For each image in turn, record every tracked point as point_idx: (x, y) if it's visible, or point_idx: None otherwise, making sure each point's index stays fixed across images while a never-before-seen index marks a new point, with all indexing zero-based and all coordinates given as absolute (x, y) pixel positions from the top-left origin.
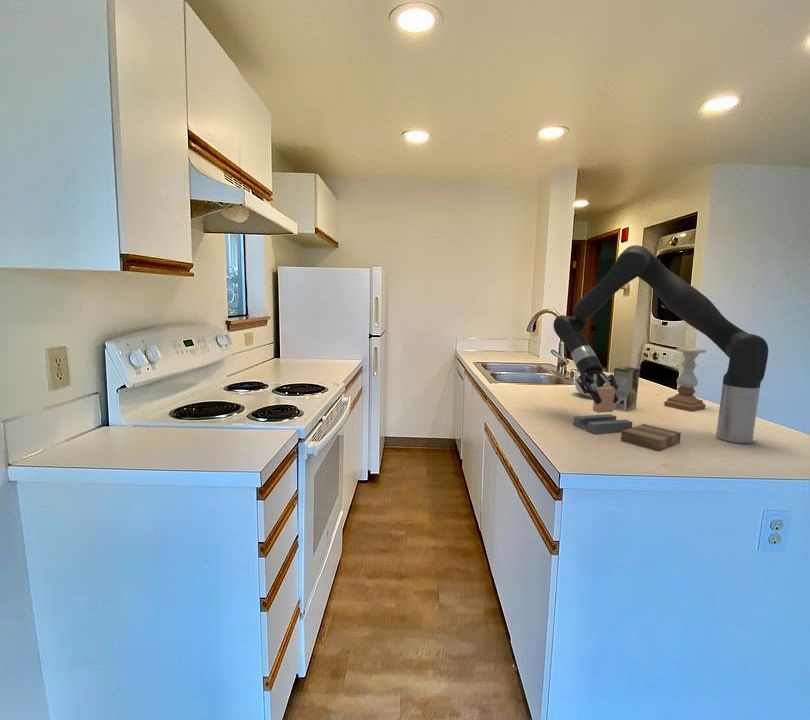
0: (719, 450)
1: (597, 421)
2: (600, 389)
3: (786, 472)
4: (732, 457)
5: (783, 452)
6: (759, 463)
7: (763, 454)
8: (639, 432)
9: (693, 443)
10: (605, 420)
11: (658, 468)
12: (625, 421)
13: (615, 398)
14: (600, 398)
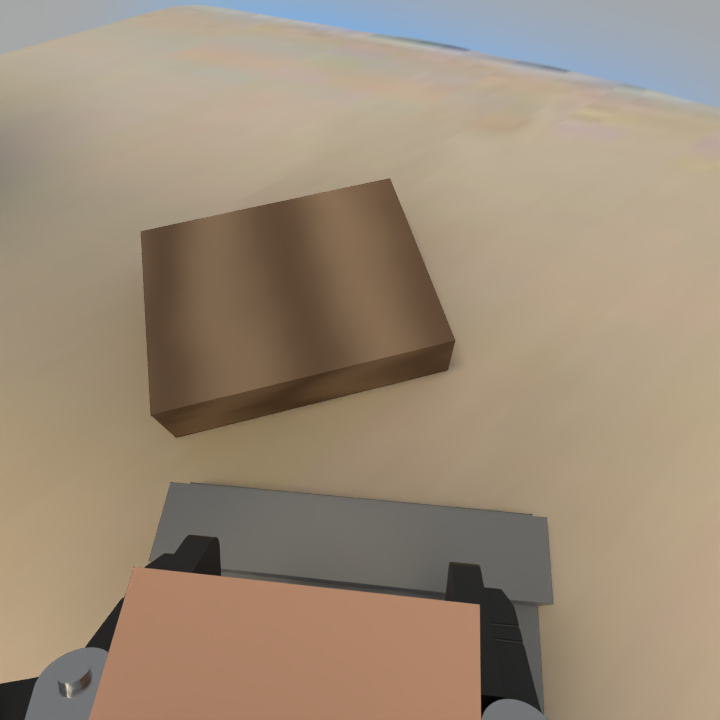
0: (126, 163)
1: None
2: (472, 605)
3: (179, 24)
4: (176, 114)
5: None
6: (161, 70)
7: (31, 107)
8: (366, 292)
9: (120, 240)
10: None
11: (561, 112)
12: (210, 510)
13: (205, 556)
14: (461, 581)
